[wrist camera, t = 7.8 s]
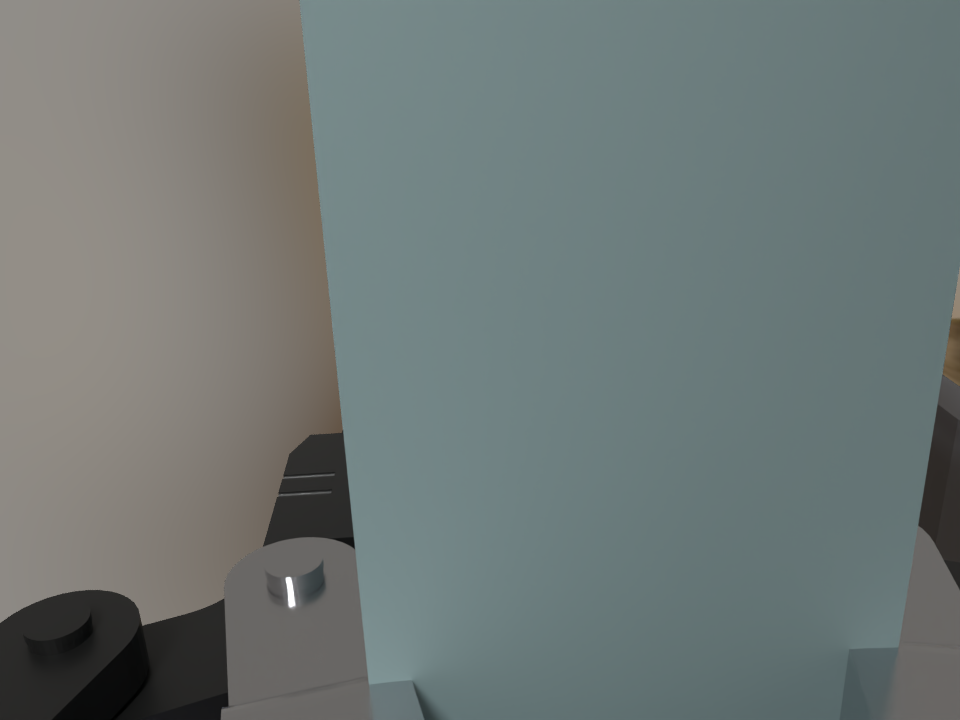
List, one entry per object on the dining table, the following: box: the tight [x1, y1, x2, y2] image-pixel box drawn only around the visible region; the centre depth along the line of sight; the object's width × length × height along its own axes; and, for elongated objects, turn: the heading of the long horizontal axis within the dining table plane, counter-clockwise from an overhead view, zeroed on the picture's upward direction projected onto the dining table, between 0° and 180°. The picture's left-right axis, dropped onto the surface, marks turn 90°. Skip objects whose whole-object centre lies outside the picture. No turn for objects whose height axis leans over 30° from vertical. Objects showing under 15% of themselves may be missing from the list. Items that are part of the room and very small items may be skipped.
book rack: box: [918, 375, 960, 562], centre depth 26 cm, size 17×13×13 cm
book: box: [300, 0, 960, 720], centre depth 10 cm, size 4×7×14 cm, turn 3°
